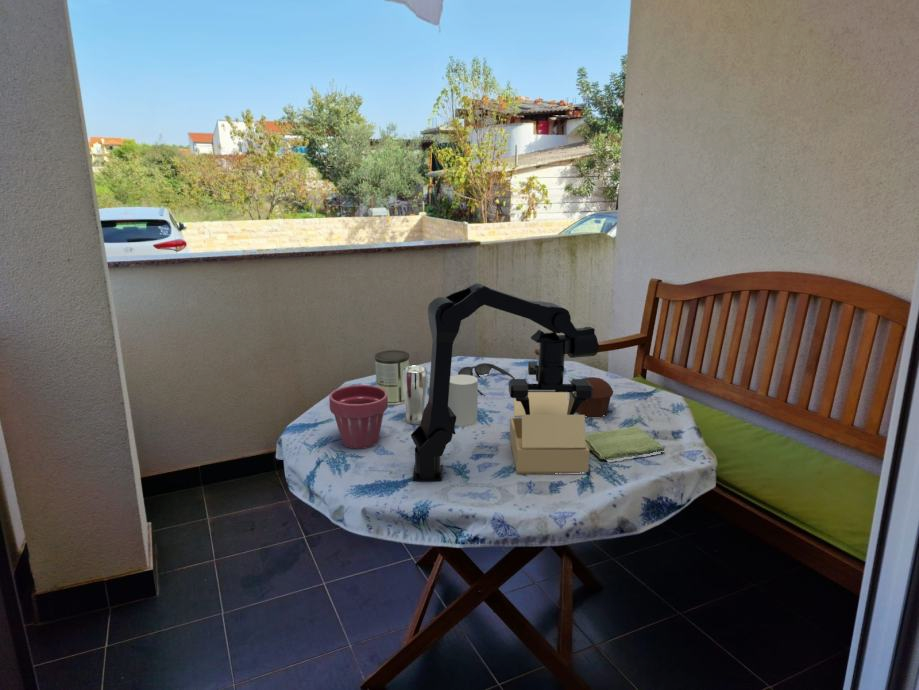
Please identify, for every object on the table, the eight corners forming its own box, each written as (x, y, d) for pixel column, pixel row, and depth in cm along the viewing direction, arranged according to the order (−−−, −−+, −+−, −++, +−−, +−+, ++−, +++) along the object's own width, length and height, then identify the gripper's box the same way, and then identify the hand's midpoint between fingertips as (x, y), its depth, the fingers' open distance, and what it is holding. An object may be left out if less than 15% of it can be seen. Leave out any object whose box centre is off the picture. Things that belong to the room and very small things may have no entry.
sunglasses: (491, 373, 192) (492, 360, 190) (522, 393, 180) (524, 379, 178) (451, 382, 183) (452, 369, 181) (481, 403, 171) (482, 389, 169)
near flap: (521, 414, 124) (522, 414, 123) (584, 414, 124) (584, 414, 123) (521, 447, 123) (522, 447, 123) (584, 447, 123) (585, 447, 123)
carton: (587, 474, 124) (589, 450, 123) (516, 474, 124) (517, 450, 123) (572, 439, 142) (573, 417, 140) (509, 439, 142) (510, 417, 140)
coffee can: (379, 392, 174) (377, 349, 170) (411, 393, 173) (410, 350, 170) (373, 405, 164) (371, 359, 160) (408, 405, 163) (407, 360, 160)
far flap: (567, 389, 143) (566, 390, 143) (513, 389, 143) (513, 390, 143) (570, 415, 139) (569, 416, 140) (514, 415, 139) (514, 416, 140)
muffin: (598, 402, 166) (600, 371, 163) (619, 416, 156) (622, 383, 153) (563, 407, 162) (564, 375, 160) (582, 422, 152) (585, 388, 149)
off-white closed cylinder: (483, 420, 153) (483, 379, 150) (462, 429, 148) (462, 386, 144) (462, 412, 159) (462, 372, 155) (441, 420, 153) (441, 379, 150)
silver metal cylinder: (421, 427, 149) (420, 374, 145) (398, 423, 151) (397, 371, 147) (432, 417, 155) (431, 366, 151) (410, 413, 158) (408, 363, 153)
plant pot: (398, 433, 145) (396, 387, 141) (372, 457, 132) (370, 407, 128) (350, 426, 149) (348, 381, 146) (321, 448, 137) (317, 399, 133)
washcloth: (576, 442, 141) (577, 430, 140) (637, 434, 146) (639, 423, 145) (602, 466, 129) (603, 454, 128) (668, 457, 133) (669, 445, 132)
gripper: (584, 349, 133) (580, 409, 138) (507, 349, 133) (505, 409, 138) (595, 363, 123) (591, 428, 127) (511, 363, 123) (509, 428, 127)
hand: (548, 422), depth 130 cm, fingers open, 9 cm apart
